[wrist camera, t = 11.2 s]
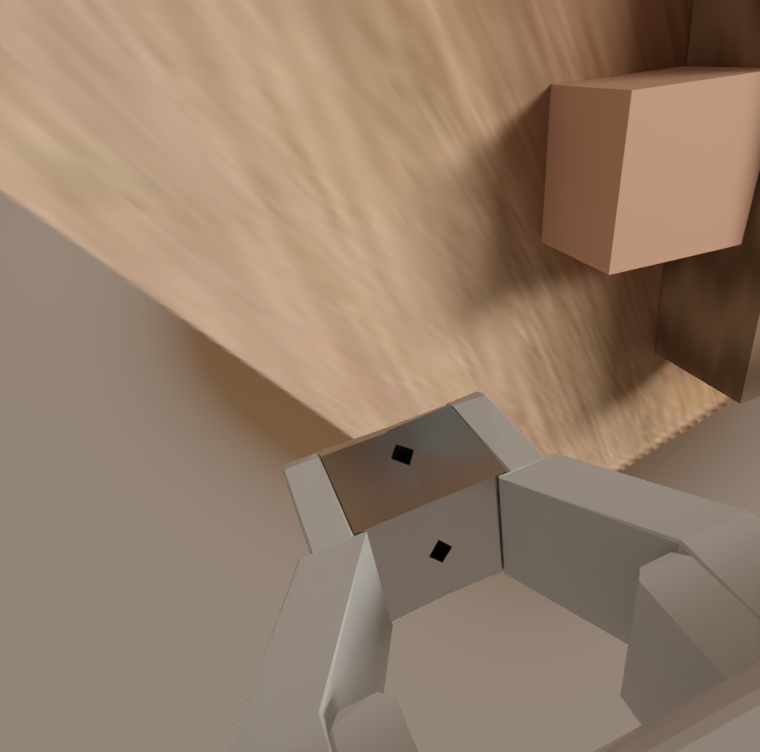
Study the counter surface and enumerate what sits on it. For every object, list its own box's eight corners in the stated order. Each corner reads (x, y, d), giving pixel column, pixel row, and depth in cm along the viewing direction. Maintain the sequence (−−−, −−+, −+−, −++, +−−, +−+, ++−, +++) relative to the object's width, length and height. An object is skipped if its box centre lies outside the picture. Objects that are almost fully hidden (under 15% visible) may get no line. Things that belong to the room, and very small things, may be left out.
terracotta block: (549, 84, 28) (631, 90, 23) (681, 66, 30) (784, 68, 25) (540, 241, 32) (609, 275, 27) (656, 216, 34) (741, 244, 29)
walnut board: (722, -270, 23) (908, -378, 17) (781, -277, 24) (980, -383, 18) (655, 352, 39) (740, 403, 33) (691, 339, 40) (781, 387, 34)
